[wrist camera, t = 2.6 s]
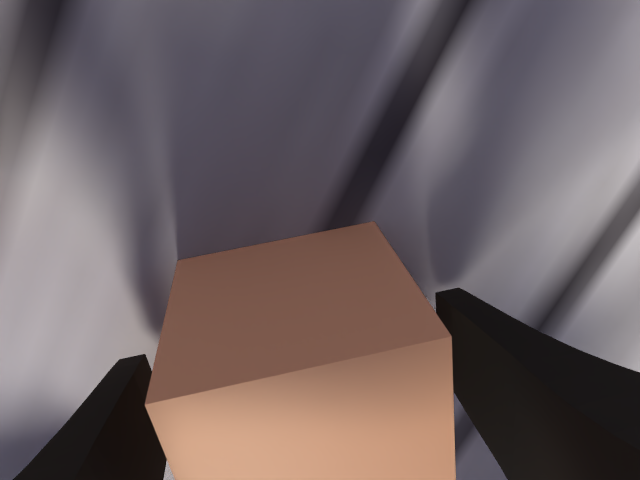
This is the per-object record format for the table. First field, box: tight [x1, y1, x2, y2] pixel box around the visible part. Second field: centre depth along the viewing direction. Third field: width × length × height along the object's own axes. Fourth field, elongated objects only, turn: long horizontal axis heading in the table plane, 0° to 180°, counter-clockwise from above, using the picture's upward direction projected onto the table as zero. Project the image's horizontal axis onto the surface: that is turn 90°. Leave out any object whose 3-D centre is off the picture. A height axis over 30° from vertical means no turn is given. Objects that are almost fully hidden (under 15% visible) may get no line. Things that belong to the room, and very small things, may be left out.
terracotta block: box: [145, 221, 456, 480], centre depth 11 cm, size 5×5×5 cm
